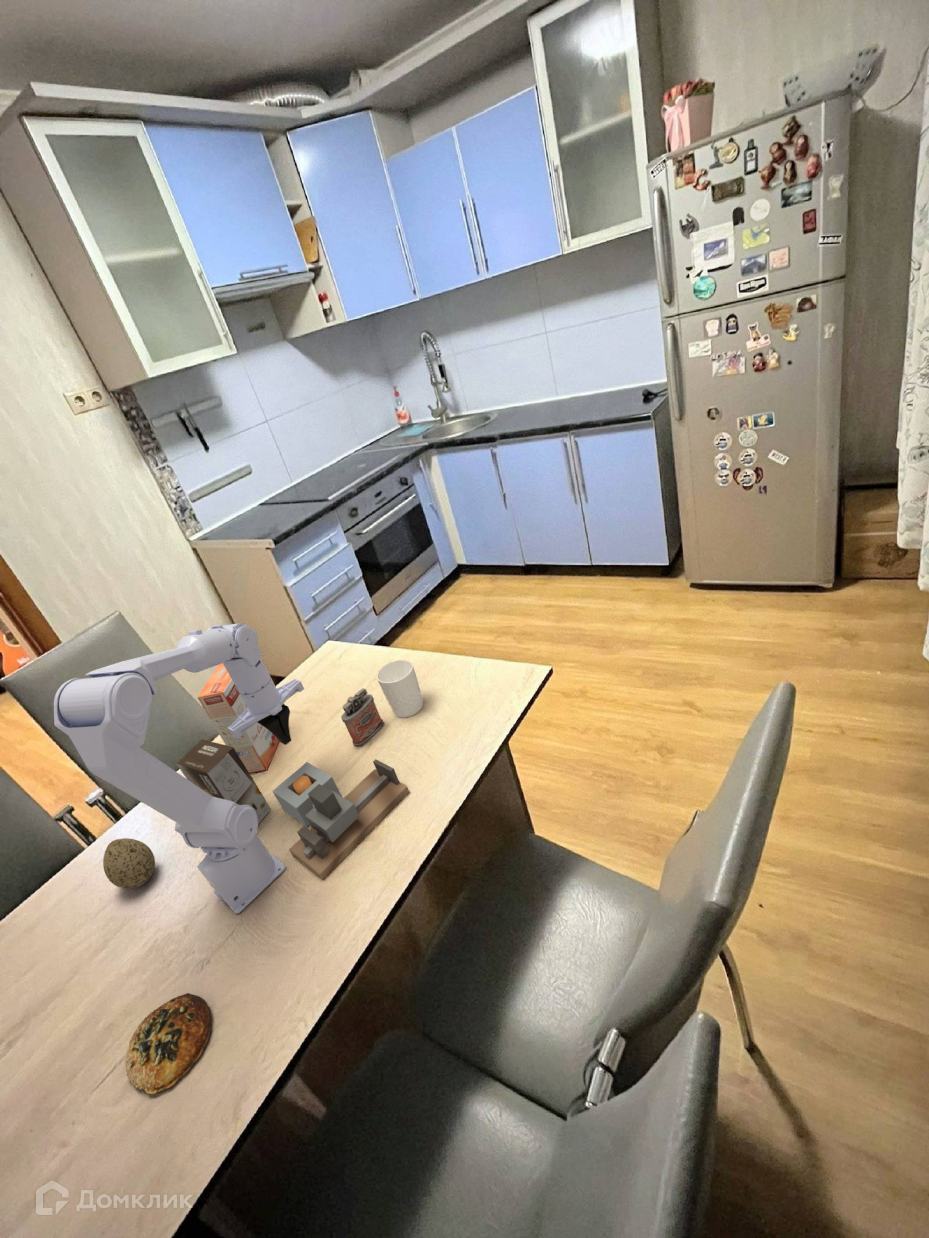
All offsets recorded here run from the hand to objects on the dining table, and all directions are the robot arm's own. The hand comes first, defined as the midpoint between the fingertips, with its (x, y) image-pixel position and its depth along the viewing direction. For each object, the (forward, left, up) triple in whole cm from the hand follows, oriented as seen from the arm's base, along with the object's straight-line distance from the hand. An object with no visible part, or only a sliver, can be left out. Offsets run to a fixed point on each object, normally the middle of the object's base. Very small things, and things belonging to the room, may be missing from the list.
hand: (285, 741), depth 106 cm
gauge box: (-3, -6, -10) cm, 12 cm away
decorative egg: (-30, +9, -11) cm, 33 cm away
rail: (-2, -17, -10) cm, 20 cm away
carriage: (-5, -17, -7) cm, 19 cm away
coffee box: (-12, +4, -11) cm, 17 cm away
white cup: (+25, -4, -11) cm, 27 cm away
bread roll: (-38, -23, -11) cm, 46 cm away
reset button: (-3, -6, -9) cm, 12 cm away
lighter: (+15, -2, -11) cm, 18 cm away
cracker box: (+1, +17, -11) cm, 20 cm away
